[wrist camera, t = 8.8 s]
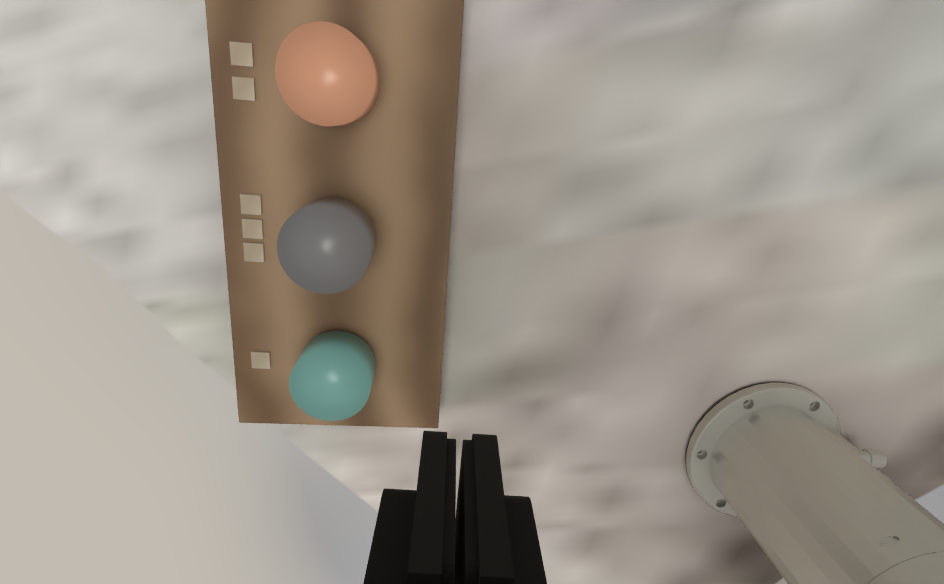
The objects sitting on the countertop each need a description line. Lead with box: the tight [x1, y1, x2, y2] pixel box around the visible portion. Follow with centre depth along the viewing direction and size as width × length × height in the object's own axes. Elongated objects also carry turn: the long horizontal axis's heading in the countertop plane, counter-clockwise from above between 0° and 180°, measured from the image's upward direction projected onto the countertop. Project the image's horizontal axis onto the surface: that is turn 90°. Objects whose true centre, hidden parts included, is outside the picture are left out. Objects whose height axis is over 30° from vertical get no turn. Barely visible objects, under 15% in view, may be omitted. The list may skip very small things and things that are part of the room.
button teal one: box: [289, 330, 376, 421], centre depth 34 cm, size 5×5×3 cm
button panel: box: [205, 0, 464, 428], centre depth 34 cm, size 14×28×3 cm, turn 176°
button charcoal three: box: [277, 197, 376, 294], centre depth 30 cm, size 5×5×3 cm
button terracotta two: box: [275, 21, 380, 126], centre depth 28 cm, size 5×5×3 cm
